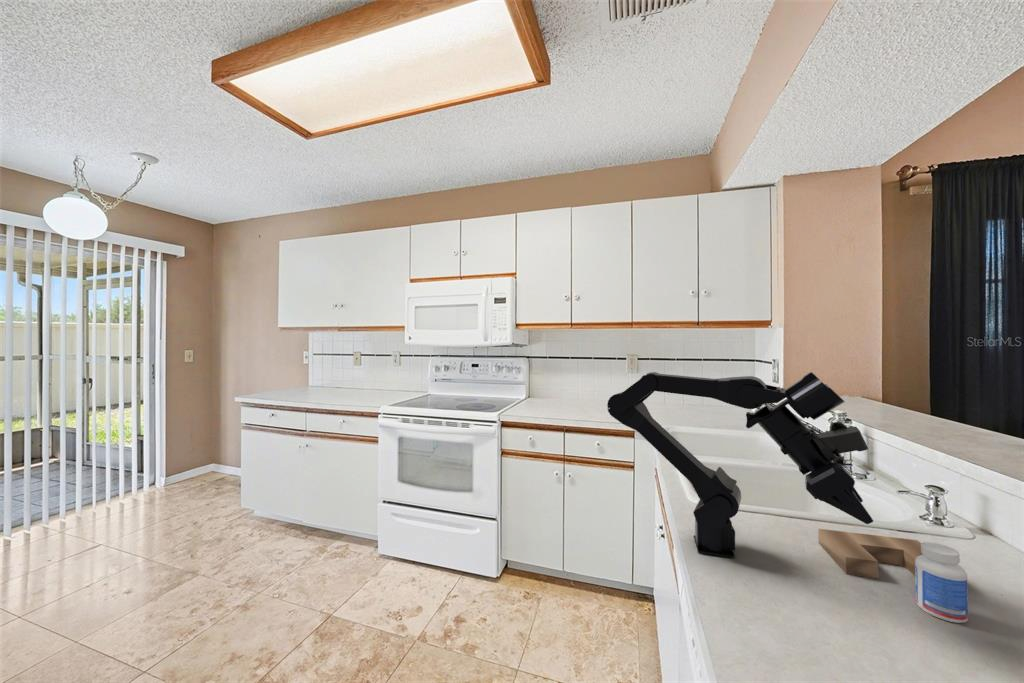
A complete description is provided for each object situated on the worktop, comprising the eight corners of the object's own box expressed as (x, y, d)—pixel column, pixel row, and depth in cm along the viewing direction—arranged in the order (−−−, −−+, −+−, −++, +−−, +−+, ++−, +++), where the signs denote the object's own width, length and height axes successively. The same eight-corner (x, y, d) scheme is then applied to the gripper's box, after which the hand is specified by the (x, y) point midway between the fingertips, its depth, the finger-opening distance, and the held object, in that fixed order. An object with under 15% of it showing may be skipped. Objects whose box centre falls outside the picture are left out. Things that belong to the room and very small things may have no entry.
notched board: (845, 573, 69) (845, 557, 69) (818, 543, 80) (818, 528, 80) (962, 590, 64) (962, 572, 64) (917, 555, 75) (916, 540, 75)
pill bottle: (979, 626, 56) (979, 560, 56) (935, 621, 57) (935, 556, 57) (946, 601, 62) (945, 541, 62) (906, 597, 63) (905, 538, 63)
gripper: (840, 417, 60) (935, 510, 54) (827, 401, 75) (900, 471, 69) (774, 455, 64) (856, 544, 59) (775, 433, 80) (839, 501, 74)
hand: (865, 511), depth 65 cm, fingers open, 9 cm apart
